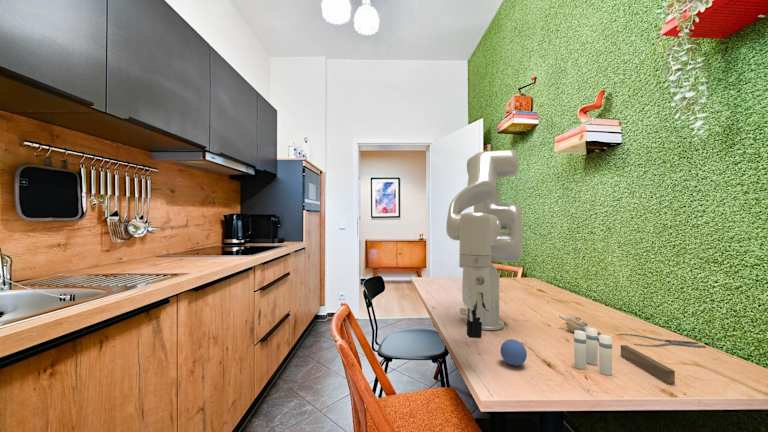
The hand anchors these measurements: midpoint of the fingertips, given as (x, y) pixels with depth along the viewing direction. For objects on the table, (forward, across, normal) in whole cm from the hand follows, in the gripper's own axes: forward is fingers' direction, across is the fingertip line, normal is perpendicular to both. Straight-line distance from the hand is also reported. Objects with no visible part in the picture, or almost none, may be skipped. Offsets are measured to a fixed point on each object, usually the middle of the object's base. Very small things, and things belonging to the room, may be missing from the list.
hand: (474, 336), depth 74 cm
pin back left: (+6, +4, -30) cm, 31 cm away
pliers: (+6, +21, -60) cm, 64 cm away
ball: (+4, +1, -10) cm, 11 cm away
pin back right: (+6, -2, -30) cm, 31 cm away
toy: (+6, +24, -40) cm, 47 cm away
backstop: (+6, +1, -41) cm, 42 cm away
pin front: (+6, +1, -26) cm, 27 cm away
